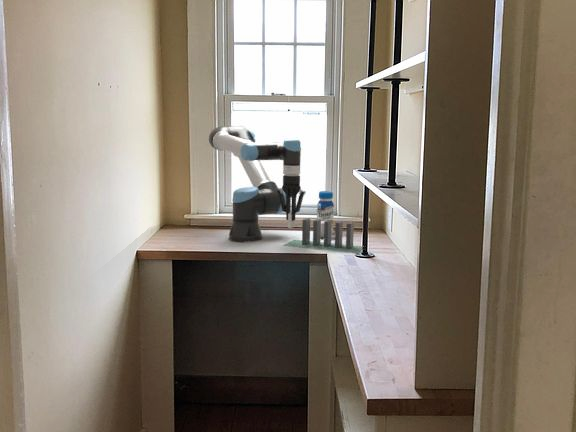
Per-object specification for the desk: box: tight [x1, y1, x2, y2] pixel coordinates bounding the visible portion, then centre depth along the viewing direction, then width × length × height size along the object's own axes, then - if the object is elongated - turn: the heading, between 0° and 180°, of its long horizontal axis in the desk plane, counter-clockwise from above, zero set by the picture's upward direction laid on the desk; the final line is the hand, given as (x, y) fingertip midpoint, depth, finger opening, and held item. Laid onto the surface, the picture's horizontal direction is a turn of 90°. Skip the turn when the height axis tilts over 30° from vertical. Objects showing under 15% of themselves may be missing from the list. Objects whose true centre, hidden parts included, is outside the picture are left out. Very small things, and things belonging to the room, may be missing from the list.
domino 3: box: [323, 220, 332, 247], centre depth 259 cm, size 2×5×11 cm, turn 158°
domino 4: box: [334, 220, 344, 248], centre depth 257 cm, size 2×5×11 cm, turn 158°
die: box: [321, 221, 335, 239], centre depth 277 cm, size 8×9×10 cm
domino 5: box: [345, 221, 355, 249], centre depth 255 cm, size 2×5×11 cm, turn 158°
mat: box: [282, 239, 363, 255], centre depth 259 cm, size 34×14×1 cm, turn 68°
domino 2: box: [312, 218, 322, 246], centre depth 260 cm, size 2×5×11 cm, turn 158°
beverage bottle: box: [316, 190, 335, 228], centre depth 289 cm, size 8×8×20 cm
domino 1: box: [301, 217, 311, 245], centre depth 262 cm, size 2×5×11 cm, turn 158°
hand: (290, 227), depth 265 cm, fingers closed
